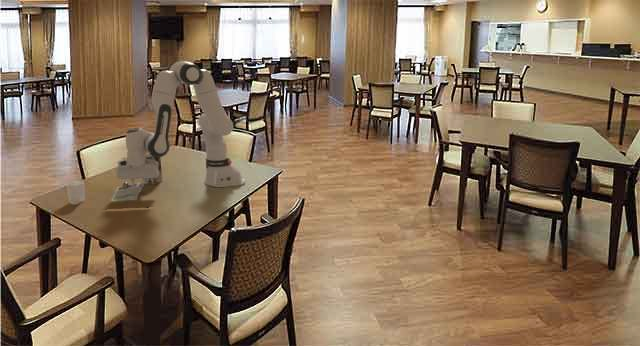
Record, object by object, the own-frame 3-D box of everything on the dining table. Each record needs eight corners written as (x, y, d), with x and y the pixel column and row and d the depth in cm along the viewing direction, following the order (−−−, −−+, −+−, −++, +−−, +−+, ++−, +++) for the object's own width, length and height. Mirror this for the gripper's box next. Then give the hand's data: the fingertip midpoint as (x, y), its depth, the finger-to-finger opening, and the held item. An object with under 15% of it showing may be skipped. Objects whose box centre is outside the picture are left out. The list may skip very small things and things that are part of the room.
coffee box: (152, 180, 286) (150, 153, 281) (162, 181, 284) (160, 154, 280) (143, 185, 277) (141, 157, 273) (154, 186, 276) (152, 158, 271)
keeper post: (129, 193, 260) (128, 181, 258) (129, 195, 257) (128, 183, 256) (123, 193, 260) (122, 181, 258) (122, 195, 257) (121, 183, 255)
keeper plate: (141, 190, 268) (140, 188, 268) (136, 201, 252) (136, 199, 251) (117, 191, 266) (116, 189, 266) (110, 202, 249) (110, 200, 249)
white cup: (72, 199, 252) (69, 180, 249) (88, 199, 253) (86, 180, 250) (65, 205, 244) (63, 185, 242) (82, 205, 245) (80, 185, 242)
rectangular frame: (142, 187, 263) (140, 181, 262) (140, 191, 256) (138, 186, 255) (118, 192, 261) (117, 187, 260) (116, 197, 254) (114, 192, 253)
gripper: (158, 158, 260) (160, 183, 264) (116, 159, 256) (118, 185, 260) (157, 161, 254) (159, 187, 258) (114, 162, 250) (116, 189, 254)
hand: (138, 186), depth 259 cm, fingers closed on rectangular frame, 2 cm apart
